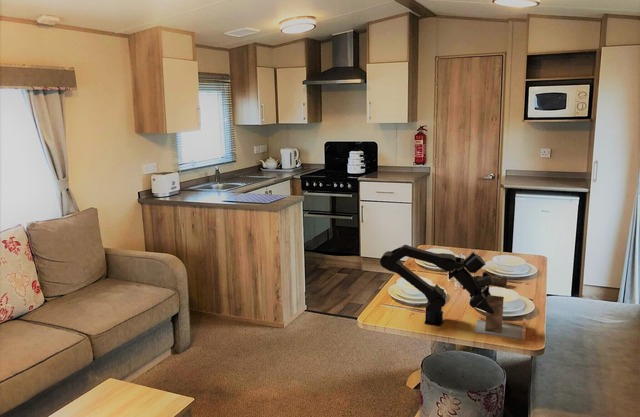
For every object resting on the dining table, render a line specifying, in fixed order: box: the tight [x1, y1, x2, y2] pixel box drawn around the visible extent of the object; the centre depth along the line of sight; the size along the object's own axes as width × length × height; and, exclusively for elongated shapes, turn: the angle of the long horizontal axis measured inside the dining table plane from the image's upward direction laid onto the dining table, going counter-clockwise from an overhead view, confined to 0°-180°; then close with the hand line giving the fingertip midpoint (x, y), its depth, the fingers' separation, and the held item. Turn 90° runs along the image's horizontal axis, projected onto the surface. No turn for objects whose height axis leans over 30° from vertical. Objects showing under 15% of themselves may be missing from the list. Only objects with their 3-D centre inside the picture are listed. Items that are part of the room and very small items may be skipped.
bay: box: [473, 318, 527, 341], centre depth 205 cm, size 19×12×4 cm, turn 67°
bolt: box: [476, 274, 508, 288], centre depth 256 cm, size 6×5×15 cm
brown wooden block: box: [485, 294, 505, 333], centre depth 205 cm, size 6×6×13 cm
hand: (494, 309), depth 205 cm, fingers open, 9 cm apart
